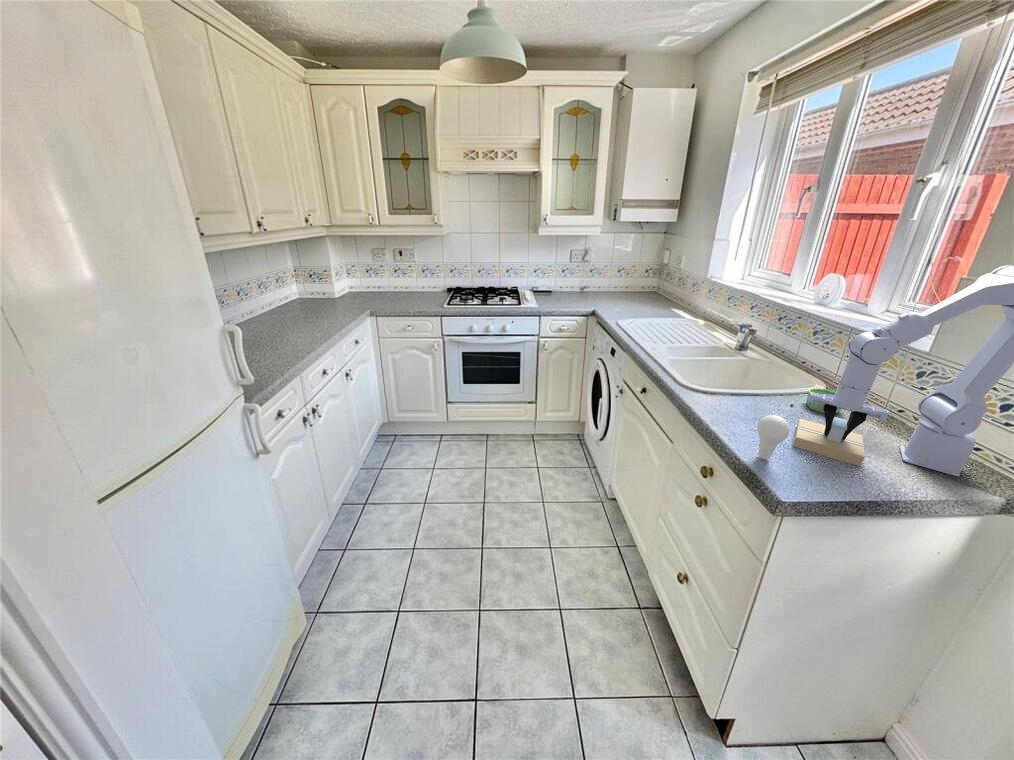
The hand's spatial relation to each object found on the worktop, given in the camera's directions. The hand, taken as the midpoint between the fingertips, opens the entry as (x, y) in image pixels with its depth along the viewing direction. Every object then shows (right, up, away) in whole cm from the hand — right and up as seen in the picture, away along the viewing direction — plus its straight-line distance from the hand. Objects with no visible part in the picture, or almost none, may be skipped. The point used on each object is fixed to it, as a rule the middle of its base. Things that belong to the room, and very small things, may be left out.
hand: (834, 435), depth 99 cm
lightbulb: (-20, -5, -5) cm, 21 cm away
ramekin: (+13, +5, +21) cm, 25 cm away
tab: (0, 0, 0) cm, 0 cm away
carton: (-1, -3, +2) cm, 3 cm away
